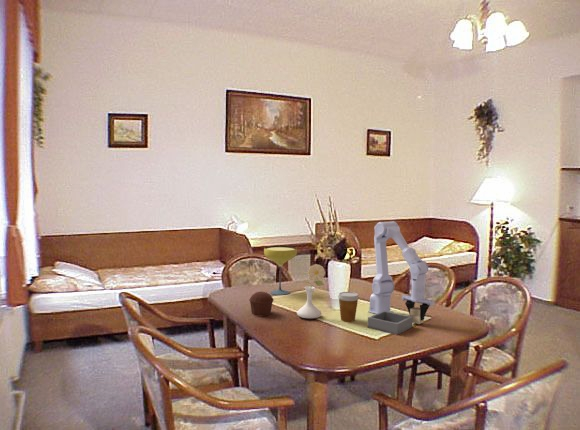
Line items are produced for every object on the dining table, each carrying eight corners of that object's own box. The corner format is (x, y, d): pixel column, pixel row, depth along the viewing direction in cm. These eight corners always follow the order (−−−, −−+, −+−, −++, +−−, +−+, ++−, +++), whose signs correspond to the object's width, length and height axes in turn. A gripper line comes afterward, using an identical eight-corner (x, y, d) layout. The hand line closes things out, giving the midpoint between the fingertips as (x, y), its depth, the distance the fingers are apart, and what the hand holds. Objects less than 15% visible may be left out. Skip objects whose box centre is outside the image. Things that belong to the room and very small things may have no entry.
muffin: (244, 313, 227) (244, 292, 226) (261, 308, 235) (261, 288, 234) (261, 318, 219) (261, 296, 218) (278, 313, 227) (278, 292, 226)
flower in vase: (293, 318, 219) (294, 264, 217) (301, 312, 230) (302, 260, 228) (320, 322, 214) (322, 267, 212) (327, 315, 225) (329, 262, 223)
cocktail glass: (276, 287, 280) (277, 244, 278) (302, 292, 269) (303, 248, 267) (256, 293, 265) (257, 248, 263) (283, 298, 255) (283, 251, 253)
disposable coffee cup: (360, 318, 221) (360, 292, 220) (356, 324, 212) (356, 297, 211) (339, 316, 225) (340, 290, 224) (335, 321, 216) (335, 295, 215)
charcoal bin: (367, 327, 208) (367, 317, 207) (383, 320, 218) (384, 310, 218) (397, 334, 199) (397, 324, 198) (412, 327, 210) (412, 316, 209)
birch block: (409, 322, 214) (410, 308, 213) (414, 319, 217) (414, 306, 217) (419, 324, 211) (419, 310, 210) (423, 321, 214) (424, 308, 214)
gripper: (398, 287, 214) (397, 317, 215) (429, 293, 205) (428, 324, 206) (406, 284, 220) (405, 314, 221) (436, 290, 210) (435, 320, 212)
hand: (416, 318), depth 214 cm, fingers closed on birch block, 4 cm apart
